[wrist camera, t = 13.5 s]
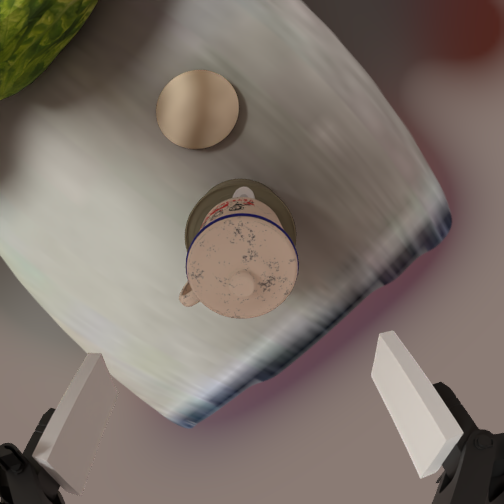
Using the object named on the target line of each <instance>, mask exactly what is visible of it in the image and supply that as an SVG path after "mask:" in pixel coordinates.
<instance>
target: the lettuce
mask: <svg viewBox="0 0 504 504" xmlns="http://www.w3.org/2000/svg"><path fill="white" fill-rule="evenodd" d="M97 2H98V0H0V100H2V99H4V98H7V97H9V96H12V95H14V94H16V93H18V92H19V91H20V90H22V89H23V88H25V87H26V86H28V85H29V84H31V83H32V82H33V81H34V80H35V79H36V78H37V77H38V76H39V75H40V74H41V73H42V72H43V71H45V70H46V69H47V67H48V66H49V65H50V64H51V62H52V61H53V60H54V59H55V57H56V56H57V55H58V54H59V53H60V51H61V50H62V49H63V48H64V47H65V46H66V45H67V44H68V43H69V42H70V41H71V40H72V38H73V37H74V36H75V35H76V33H77V32H78V31H79V30H80V29H81V27H82V26H83V24H84V23H85V21H86V20H87V18H88V17H89V15H90V14H91V12H92V10H93V9H94V7H95V5H96V4H97Z"/></svg>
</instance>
